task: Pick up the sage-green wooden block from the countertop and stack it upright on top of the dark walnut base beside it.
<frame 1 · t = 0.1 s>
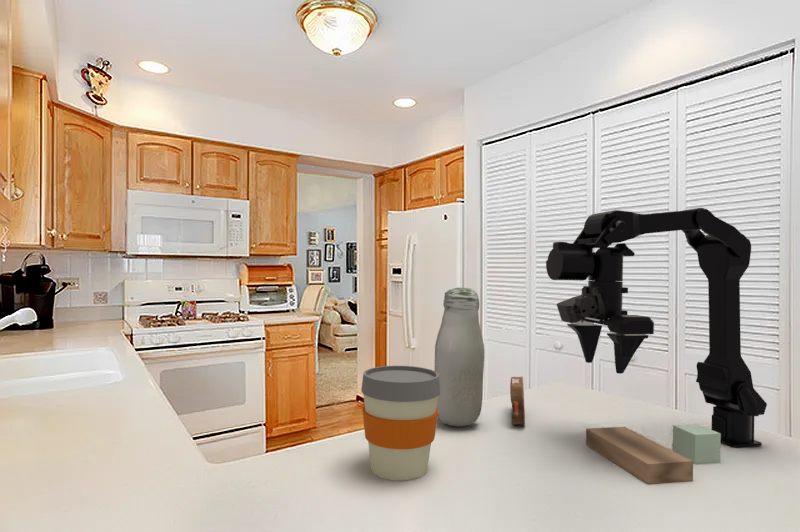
hand: (603, 367, 86), 15 cm above the countertop, tool pointing down, fingers open, 9 cm apart
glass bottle: (457, 425, 97), on the countertop
sage block: (695, 458, 83), on the countertop
tin: (517, 420, 102), on the countertop
walnut base: (634, 461, 80), on the countertop
reusable coffee cup: (399, 469, 75), on the countertop
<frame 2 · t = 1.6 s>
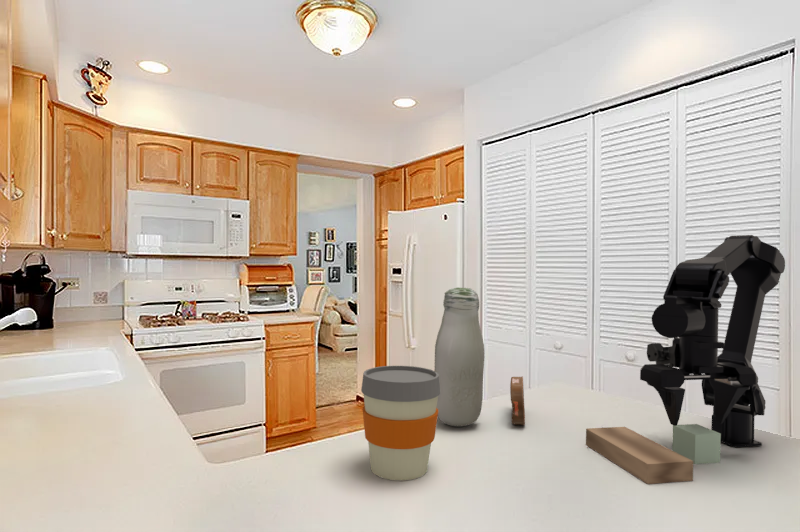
hand: (696, 423, 83), 6 cm above the countertop, tool pointing down, fingers open, 9 cm apart
nothing on the countertop moved.
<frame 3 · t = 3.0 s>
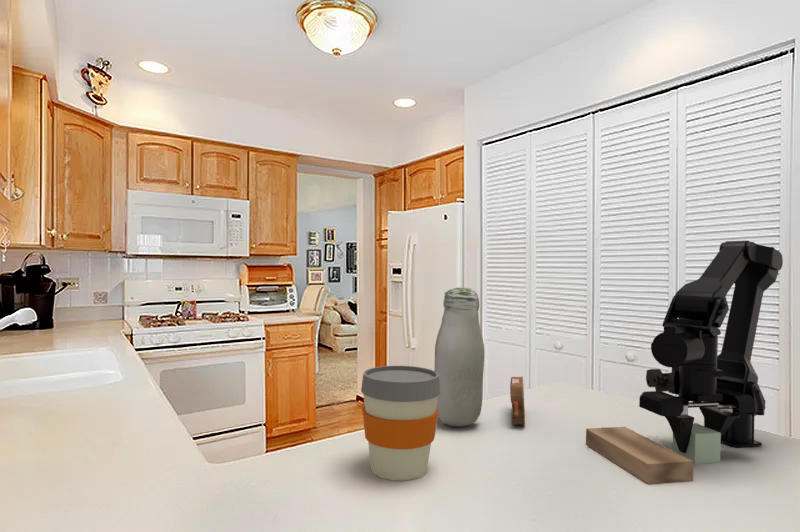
hand: (695, 451, 83), 1 cm above the countertop, tool pointing down, fingers closed on sage block, 5 cm apart
sage block: (695, 457, 83), on the countertop, touching gripper
everything else where it was.
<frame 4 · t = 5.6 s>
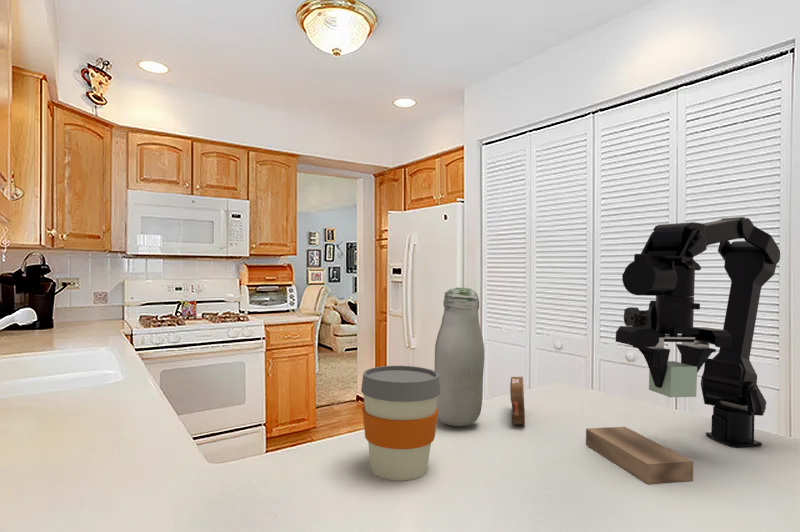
hand: (671, 387, 82), 12 cm above the countertop, tool pointing down, fingers closed on sage block, 5 cm apart
sage block: (672, 393, 81), point 11 cm above the countertop, touching gripper
everything else where it was.
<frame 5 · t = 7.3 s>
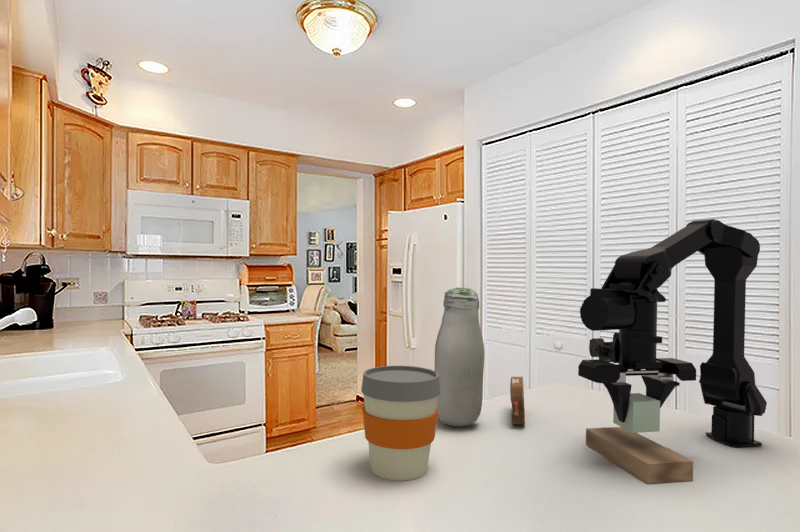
hand: (635, 421, 80), 7 cm above the countertop, tool pointing down, fingers closed on sage block, 5 cm apart
sage block: (635, 427, 80), point 6 cm above the countertop, touching gripper
everything else where it was.
when the fingers open (5 cm above the countertop, at t = 8.4 s): sage block drops 1 cm, resting on walnut base.
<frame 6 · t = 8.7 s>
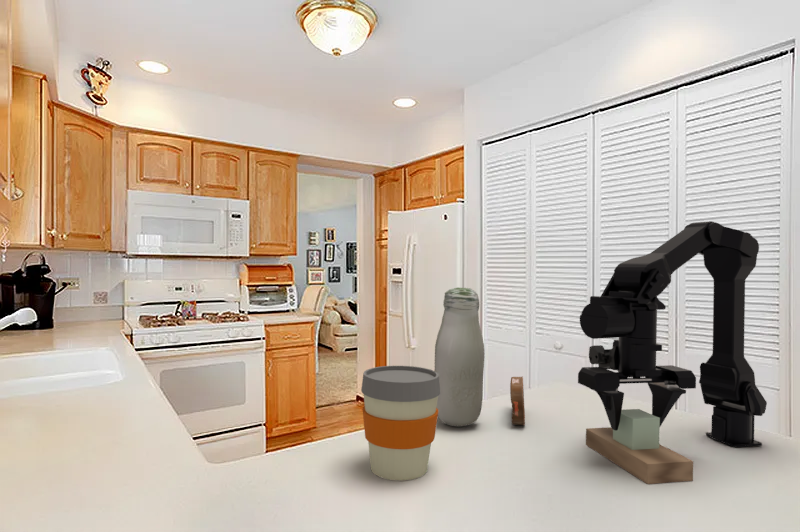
hand: (635, 428, 80), 5 cm above the countertop, tool pointing down, fingers open, 8 cm apart
sage block: (635, 443, 80), point 3 cm above the countertop, touching walnut base
everything else where it was.
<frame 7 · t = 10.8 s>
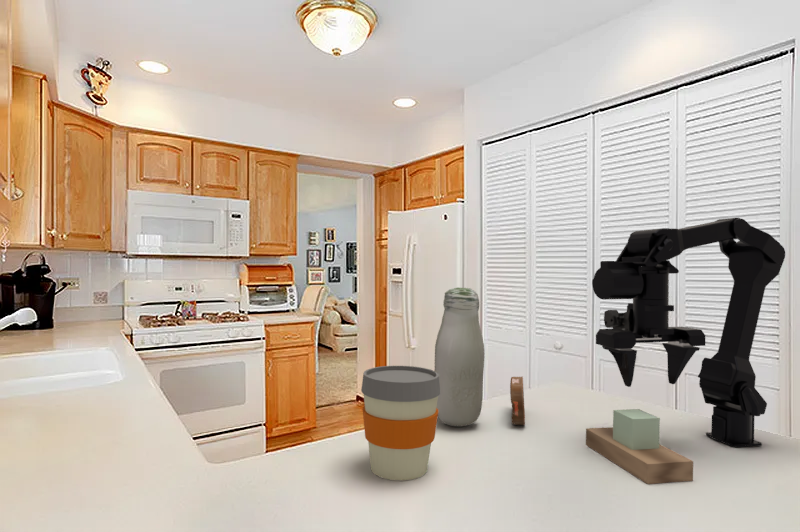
hand: (650, 385, 86), 12 cm above the countertop, tool pointing down, fingers open, 9 cm apart
nothing on the countertop moved.
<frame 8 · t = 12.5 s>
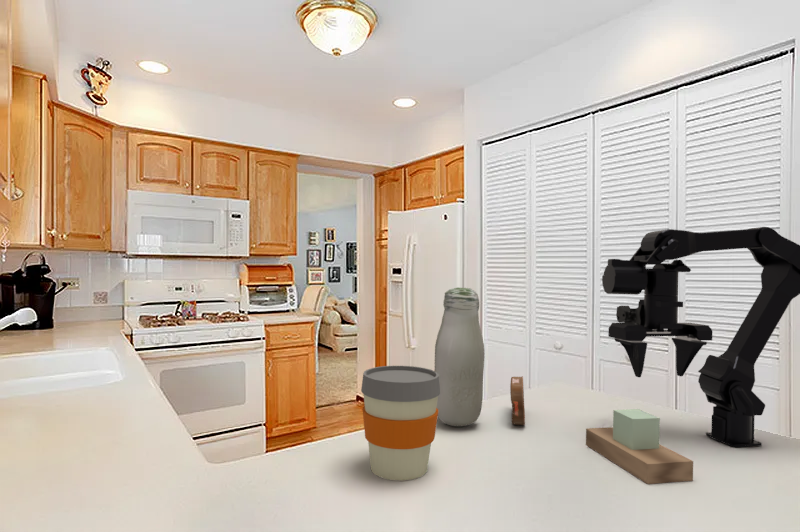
hand: (659, 376, 92), 12 cm above the countertop, tool pointing down, fingers open, 9 cm apart
nothing on the countertop moved.
at the end: sage block inside the target area on the walnut base (0.1 cm from its centre), point 3.0 cm above the walnut base's base; sage block tilted 0°; the gripper is holding nothing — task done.
